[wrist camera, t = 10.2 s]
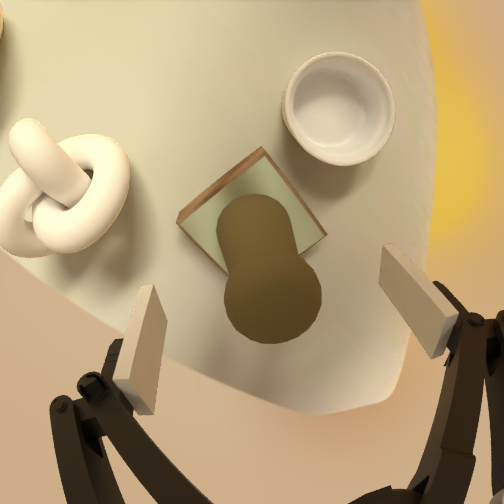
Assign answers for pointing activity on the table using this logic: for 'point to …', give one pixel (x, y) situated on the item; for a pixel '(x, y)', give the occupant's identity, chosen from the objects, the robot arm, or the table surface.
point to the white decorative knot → (60, 191)
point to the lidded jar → (1, 21)
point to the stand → (244, 183)
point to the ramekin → (339, 108)
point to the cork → (265, 271)
